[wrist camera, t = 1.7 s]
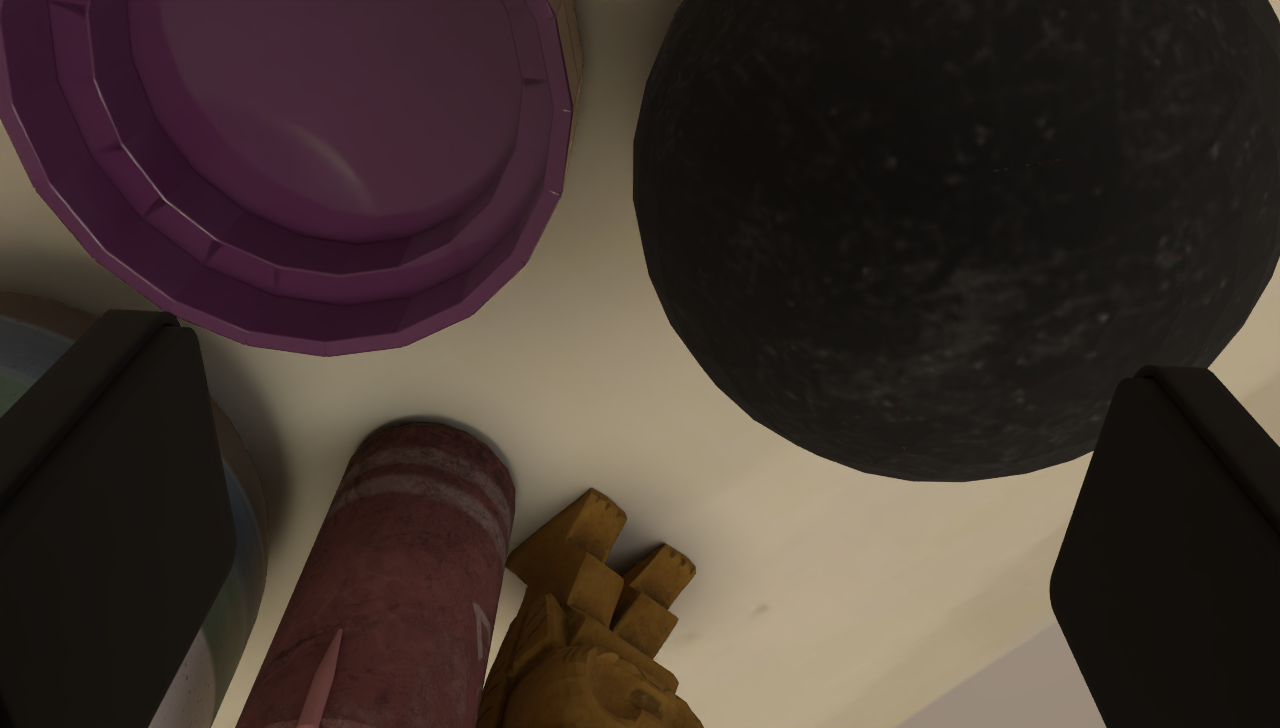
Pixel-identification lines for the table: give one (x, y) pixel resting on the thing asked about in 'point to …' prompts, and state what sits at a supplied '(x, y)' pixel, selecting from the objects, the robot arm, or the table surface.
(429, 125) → the bowl
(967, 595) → the table surface
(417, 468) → the can
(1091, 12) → the black crystal ball
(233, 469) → the vase
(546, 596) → the figurine
